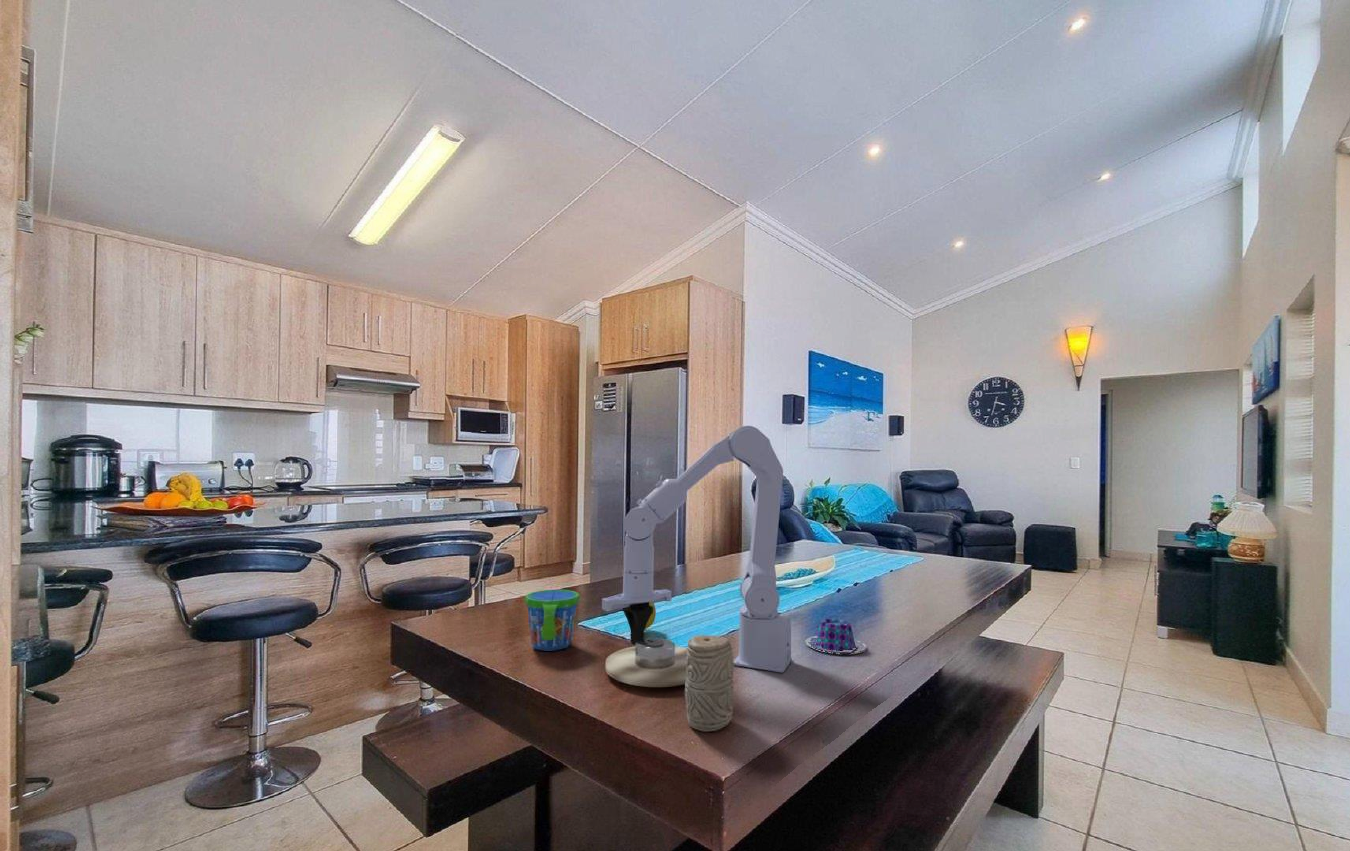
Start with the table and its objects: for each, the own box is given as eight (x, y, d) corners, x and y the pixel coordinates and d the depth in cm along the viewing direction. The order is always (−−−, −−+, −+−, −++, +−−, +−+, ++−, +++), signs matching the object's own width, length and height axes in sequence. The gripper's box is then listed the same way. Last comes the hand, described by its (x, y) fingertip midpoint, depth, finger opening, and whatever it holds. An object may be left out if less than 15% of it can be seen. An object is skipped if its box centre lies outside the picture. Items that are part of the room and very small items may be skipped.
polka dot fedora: (870, 644, 119) (870, 619, 119) (860, 662, 108) (860, 633, 109) (813, 635, 124) (813, 611, 125) (798, 651, 114) (798, 624, 114)
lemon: (654, 635, 122) (655, 597, 122) (628, 634, 122) (629, 596, 122) (656, 627, 127) (656, 591, 128) (631, 627, 127) (632, 591, 128)
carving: (674, 727, 80) (675, 639, 81) (707, 710, 86) (708, 628, 86) (709, 742, 76) (710, 650, 76) (742, 723, 81) (743, 637, 82)
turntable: (728, 666, 101) (728, 643, 101) (658, 696, 88) (658, 670, 88) (655, 643, 113) (656, 623, 113) (584, 667, 100) (584, 643, 100)
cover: (683, 662, 100) (683, 641, 100) (654, 672, 95) (655, 650, 95) (655, 652, 105) (655, 632, 105) (626, 661, 100) (627, 640, 100)
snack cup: (533, 634, 121) (534, 585, 122) (582, 634, 121) (584, 586, 122) (514, 659, 106) (516, 604, 106) (571, 660, 106) (573, 604, 107)
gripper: (657, 564, 115) (655, 632, 114) (594, 571, 106) (592, 645, 105) (678, 570, 110) (677, 642, 109) (614, 577, 101) (611, 656, 100)
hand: (636, 644), depth 107 cm, fingers closed
